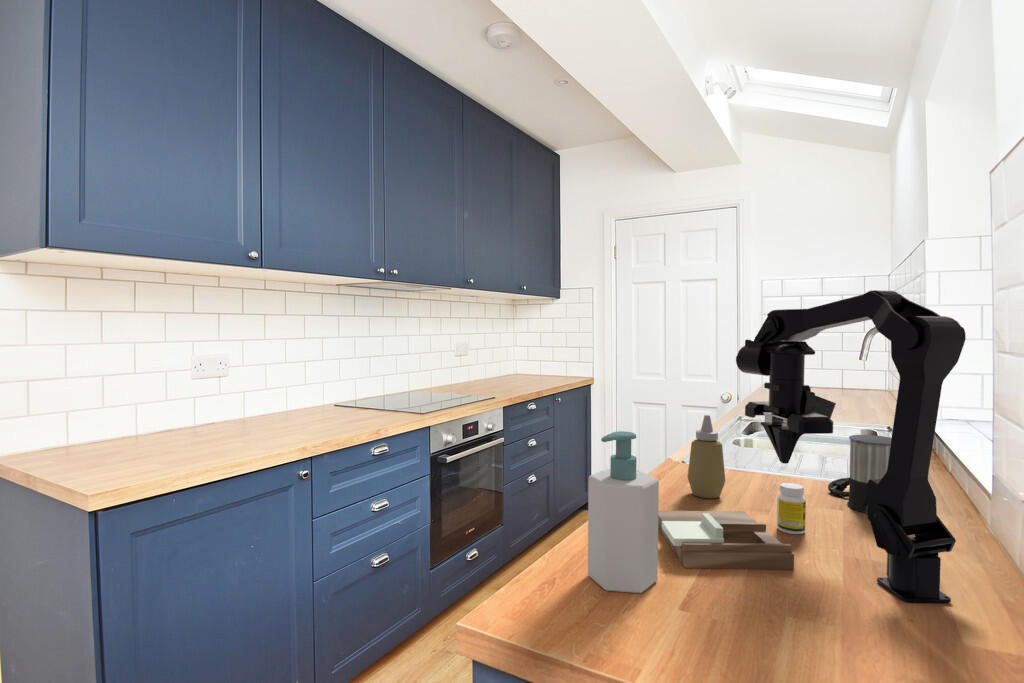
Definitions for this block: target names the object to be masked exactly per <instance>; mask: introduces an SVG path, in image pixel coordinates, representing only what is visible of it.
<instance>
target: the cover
mask: <svg viewBox="0 0 1024 683" xmlns="http://www.w3.org/2000/svg"><path fill="white" fill-rule="evenodd" d="M662 529H663V531H664V532H665V534H666V535H667V537H668V538H669V540H670V541H671V543H672V544H673V546H682V542H687V543H724V539H723V528H722V527H721V525H720V524H719V523H718V522H717V521H716V520H715V519H714V518H713V517H712V516H711V515H710V514H709V513H702V521H662Z"/></svg>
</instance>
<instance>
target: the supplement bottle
mask: <svg viewBox="0 0 1024 683" xmlns="http://www.w3.org/2000/svg"><path fill="white" fill-rule="evenodd" d="M779 492H780V493H779V494H777V506H776V507H777V508H776V509H777V511H776V512H777V513H776V514H777V515H776V528H777V530H779V531H780V532H782V533H785V534H790V535H802V534H805V532H806V508H807V506H806V505H807V504H806V503H807V502H806V501H807V500H806V498H805V497H804V494H805V488H804V486H803V485H801V484H798V483H794V482H793V483H792V482H783V483H780V484H779Z"/></svg>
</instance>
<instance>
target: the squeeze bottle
mask: <svg viewBox="0 0 1024 683" xmlns="http://www.w3.org/2000/svg"><path fill="white" fill-rule="evenodd" d="M695 438H696V439H694V440H693V441H692V442H691V444H690V445H691V446H690V453H689V461H688V470H687V480H688V483H689V486H690V490H691V493H692V495H694V496H695V497H699V498H702V499H717V498H719V497H720V496H721V494H722V492H723V489H724V486H725V483H726V471H725V463H724V462H725V460H724V449H723V444H722V443H721V442H720V441H719V433H718V431H716V430H714V428H713V424H712V419H711V415H710V414H705V415H704V416H703V420H702V425H701V428H700V429H697V430H696V431H695Z"/></svg>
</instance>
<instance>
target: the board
mask: <svg viewBox="0 0 1024 683" xmlns="http://www.w3.org/2000/svg"><path fill="white" fill-rule="evenodd" d="M702 513H709V514H710V515H711V516H712V517H713V518H714V519H715V520H716V521H717V522H718V523H719V524H720V525H721V527H722V528H723V539H724V543H687V542H682V546H673V544H672V543H671V541H670V540H669V538H668V537H667V535H666V534H665V532H664V531H663V529H662V521H702ZM658 530H659V531H660V533H661V534H662V535H663V537H664V539H665V538H666V539H665V540H666V542H667V541H668V542H667V543H668V544H670V545H669V546H670V548H671V549H672V551H673V552H674V554H675V555H676V557H677V558H678V559H679V562H680V563H681V564H682V566H683V567H684V569H725V570H727V569H730V570H731V569H733V570H735V569H736V570H741V569H742V570H746V569H747V570H795V553H793V552H792V550H793V549H792V548H793V546H792V545H791V544H790V543H781V541H779V540H778V539H777V538H776V537H775V536H774V535H772V534H771V533H770V532H769V531H768V530H767V524H766V523H765V522H757V520H755V519H754V518H753V517H752V516H750V515H749V514H748V513H747V512H746V511H739V510H738V511H736V510H735V511H734V510H732V511H730V510H729V511H728V510H726V511H723V510H721V511H720V510H718V511H717V510H715V511H713V510H658Z"/></svg>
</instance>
